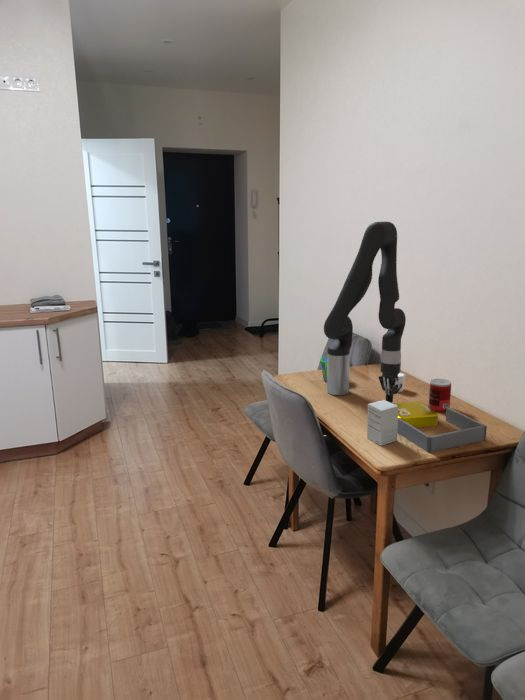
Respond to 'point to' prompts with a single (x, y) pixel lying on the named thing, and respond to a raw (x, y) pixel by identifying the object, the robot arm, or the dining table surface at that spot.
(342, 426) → the dining table surface
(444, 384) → the canned food
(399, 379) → the white piece
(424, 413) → the element tile
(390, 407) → the white rectangular box
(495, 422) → the dining table surface
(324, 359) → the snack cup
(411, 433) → the box
